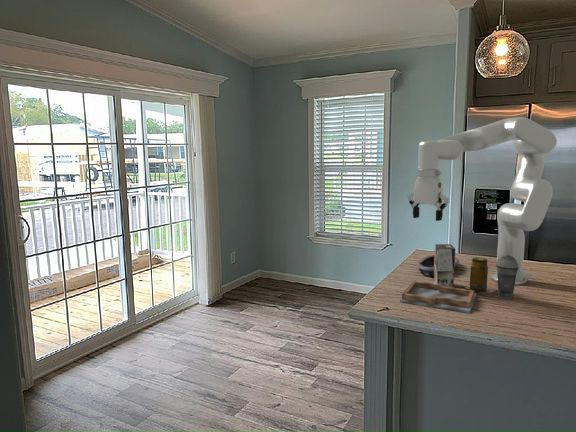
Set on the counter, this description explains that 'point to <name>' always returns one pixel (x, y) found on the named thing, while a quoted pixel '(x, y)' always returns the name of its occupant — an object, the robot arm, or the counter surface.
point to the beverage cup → (506, 275)
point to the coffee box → (444, 265)
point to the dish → (430, 265)
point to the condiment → (479, 276)
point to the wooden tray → (439, 296)
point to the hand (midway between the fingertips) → (427, 219)
